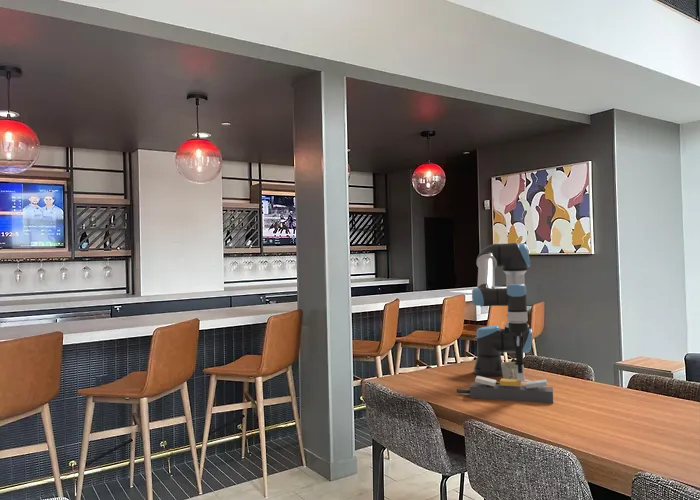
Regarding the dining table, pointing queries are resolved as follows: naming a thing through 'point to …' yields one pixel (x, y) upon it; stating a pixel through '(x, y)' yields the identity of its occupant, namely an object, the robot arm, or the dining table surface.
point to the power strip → (510, 393)
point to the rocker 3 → (536, 383)
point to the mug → (509, 370)
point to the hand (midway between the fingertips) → (520, 380)
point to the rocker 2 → (510, 382)
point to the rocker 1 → (485, 381)
